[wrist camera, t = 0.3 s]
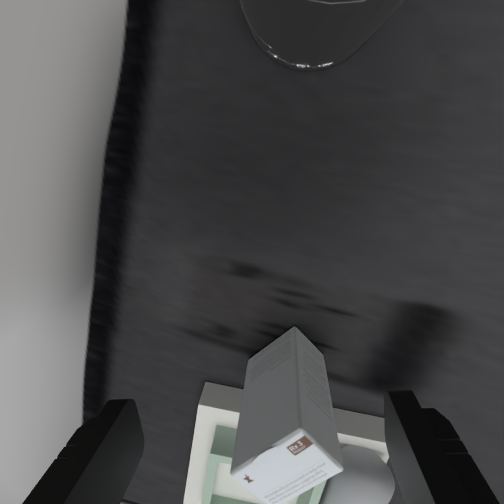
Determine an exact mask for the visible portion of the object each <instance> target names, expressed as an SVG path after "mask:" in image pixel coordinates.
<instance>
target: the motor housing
mask: <svg viewBox="0 0 504 504" xmlns="http://www.w3.org/2000/svg"><path fill="white" fill-rule="evenodd" d="M242 395H243V389H239V388H234V387H229V386H224V385H219V384H215V383H210V382H205V385H204V388H203V392H202V395H201V398H200V401H199V405H198V411H197V418H196V424H195V431H194V437H193V444H192V450H191V457H190V464H189V470H188V477H187V483H186V490H185V496H184V503H183V504H201V501H202V496H203V490H204V485H205V479H206V473H207V468H208V462H209V457H210V452H211V447H212V443H213V438H214V434H215V430H216V425H220V426H225V427H230V428H235V429H237V426H238V420H239V414H240V408H241V402H242ZM333 412H334V418H335V423H336V429H337V434H338V440H339V445H340V450H341V456H342V462H343V471H342V472H340V473H338V474H336V475H334V476H332V477H330V478H329V479H327V481H326V484H325V486H324V489H323V492H322V495H321V498H320V500H319V503H318V504H389V502H390V499H391V497H392V495H393V493H394V489H395V482H394V478H393V475H392V473H391V471H390V469H389V467H388V466H387V465H386V463H387V460H388V458H389V454H388V451H387V446H386V441H385V429H384V418H381V417H376V416H371V415H367V414H362V413H357V412H352V411H347V410H342V409H337V408H333ZM230 469H231V465H230V464H225V463H221V462H218V465H217V471H216V476H215V481H214V486H213V491H212V494H214V495H218V496H223V497H228V498H233V499H237V500H242V501H247V502H252V503H256V504H264V503H263V502H262V501H260V500H259V499H258V498H257V497H256V496H254V495H253V494H252V493H251V492H249V491H248V490H247V489H246V488H244V487H243V486H242V485H241V484H240V483H238V482H237V481H236V480H235V479H234V478H233V477H232V476H231V475H230ZM298 497H299V495H298V496H297V497H295V498H293V499H291V500H290V501H288V502H286V503H284V504H296V503H297V500H298Z"/></svg>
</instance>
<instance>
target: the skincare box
mask: <svg viewBox="0 0 504 504" xmlns="http://www.w3.org/2000/svg"><path fill="white" fill-rule="evenodd" d="M342 471H343V462H342V456H341V450H340V445H339V440H338V434H337V429H336V423H335V418H334V412H333V406H332V401H331V396H330V389H329V384H328V378H327V373H326V367H325V362H324V356H323V354H322V353H321V352H320V351H319V350H318V349H317V348H316V347H315V346H314V345H313V344H312V343H311V342H310V341H309V340H308V339H307V337H305V336H304V334H302V332H301V331H300V330H299V329H298V328H297V327H295V326H294V327H292V328H291V329H290V330H288V331H287V332H286V333H284V334H283V335H282V336H280V337H279V338H277V339H276V340H275V341H273V342H272V343H271V344H269V345H268V346H267V347H265V348H264V349H262V350H261V351H260V352H258V353H257V354H256V355H254V356H253V357H252V358H250V359H249V360H248V364H247V370H246V377H245V383H244V389H243V395H242V402H241V408H240V414H239V420H238V426H237V432H236V439H235V445H234V451H233V457H232V463H231V469H230V475H231V476H232V477H233V478H234V479H235V480H236V481H237V482H238V483H240V484H241V485H242V486H243V487H244V488H246V489H247V490H248V491H249V492H251V493H252V494H253V495H254V496H256V497H257V498H258V499H259V500H260V501H262V502H263V503H264V504H284V503H286V502H288V501H290V500H291V499H293V498H295V497H297V496H298V495H300V494H302V493H304V492H305V491H307V490H309V489H311V488H313V487H314V486H316V485H318V484H320V483H321V482H323V481H325V480H327V479H329V478H330V477H332V476H334V475H336V474H338V473H340V472H342Z"/></svg>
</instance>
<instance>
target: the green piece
mask: <svg viewBox="0 0 504 504" xmlns="http://www.w3.org/2000/svg"><path fill="white" fill-rule="evenodd" d="M236 432H237V429H235V428H230V427H225V426H220V425H216V430H215V434H214V438H213V443H212V447H211V452H210V457H209V462H208V468H207V473H206V479H205V485H204V490H203V496H202V501H201V504H256V503H252V502H247V501H242V500H237V499H233V498H228V497H223V496H218V495H214V494H212V491H213V486H214V481H215V476H216V471H217V465H218V462H221V463H225V464H230V465H231V463H232V457H233V451H234V445H235V439H236ZM326 481H327V480H325V481H323V482H321V483H320V484H318V485H316V486H314V487H313V488H311V489H309V490H307V491H305V492H304V493H302V494H300V495H299V497H298V500H297V503H296V504H318V503H319V500H320V498H321V495H322V492H323V489H324V486H325V484H326Z"/></svg>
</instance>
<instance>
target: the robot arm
mask: <svg viewBox="0 0 504 504" xmlns="http://www.w3.org/2000/svg"><path fill="white" fill-rule="evenodd" d="M404 1H405V0H240V3H241V6H242V9H243V12H244V15H245V18H246V20H247V23H248V25H249V28H250V30H251V33H252V35H253V37H254V39H255V40H256V41H257V43H258V44H259V46H260V47H261V49H262V50H263V51H264V52H265V53H266V54H267V55H268V56H269V57H270V58H272V59H273V60H274V61H276V62H278V63H280V64H281V65H283V66H285V67H288V68H291V69H294V70H298V71H317V70H323V69H327V68H329V67H332V66H334V65H337V64H339V63H341V62H342V61H344V60H345V59H347V58H348V57H350V56H351V55H352V54H353V53H354V52H355V51H356V50H357V49H358V48H359V47H360V46H361V45H362V44H363V43H364V42H365V41H366V40H367V39H368V38H369V37H371V36H372V35H373V34H374V33H375V31H376V30H377V29H378V28H379V27H380V26H381V25H382V24H383V23H384V22H385V21H386V20H387V19H388V18H389V17H390V16H391V15H392V14H393V13H394V12H395V11H396V10H397V8H398V7H399V6H400V5H401V4H402V3H403V2H404ZM384 429H385V441H386V446H387V451H388V454H389V457H390V460H391V463H392V466H393V469H394V472H395V475H396V478H397V481H398V484H399V487H400V490H401V493H402V496H403V499H404V501H405V504H500V503H499V502H498V500H497V499H496V497H495V495H494V494H493V492H492V490H491V489H490V487H489V485H488V484H487V482H486V480H485V479H484V477H483V475H482V474H481V472H480V470H479V469H478V467H477V466H476V464H475V462H474V461H473V459H472V457H471V456H470V455H469V454H468V451H467V449H466V447H465V446H464V444H463V442H462V441H460V437H459V436H458V434H457V433H456V431H455V429H454V428H453V426H452V424H451V423H450V421H449V420H447V419H446V418H445V417H444V416H443V415H442V414H440V413H439V412H438V411H437V410H436V409H434V408H421V406H420V404H419V402H418V400H417V399H416V397H415V395H414V393H413V392H412V391H411V390H398V391H385V393H384ZM143 449H144V435H143V431H142V427H141V423H140V419H139V414H138V410H137V406H136V403H135V401H134V400H133V399H116V400H109V401H108V402H107V403H106V404H105V405H104V407H103V408H102V410H101V411H100V412H99V414H98V415H97V417H91V418H90V419H89V420H88V421H87V422H85V423H84V424H83V425H82V426H81V427H79V428H78V429H77V430H76V432H75V433H74V434H73V436H72V437H71V438H70V440H69V441H68V443H67V444H66V447H64V448H63V449H62V451H61V452H60V453H59V455H58V457H57V459H55V460H54V461H53V463H52V464H51V466H50V467H49V468H48V470H47V471H46V472H45V474H44V475H43V476H42V478H41V479H40V480H39V482H38V484H37V485H36V486H35V487H34V489H33V490H32V491H31V493H30V494H29V495H28V497H27V498H26V499H25V501H24V502H23V504H120V502H121V500H122V498H123V496H124V494H125V492H126V489H127V487H128V485H129V483H130V481H131V479H132V476H133V474H134V472H135V470H136V468H137V466H138V463H139V461H140V459H141V457H142V454H143Z"/></svg>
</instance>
